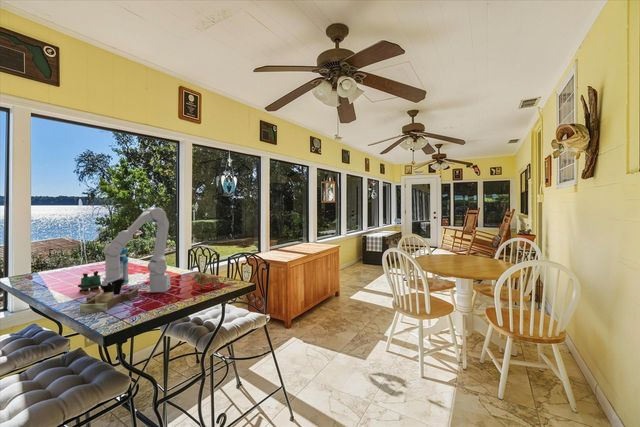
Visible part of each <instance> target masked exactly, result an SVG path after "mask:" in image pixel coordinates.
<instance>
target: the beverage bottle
mask: <svg viewBox="0 0 640 427" xmlns="http://www.w3.org/2000/svg"><path fill="white" fill-rule="evenodd" d="M127 251H128V249H127V248H125V247H124V248H122V252H121V253H120V274H123V278H121V279H125V281H124V282H123V285H127V284H128V283H129V267H130V266H129V265H130V264H129V258H128V256H127V254H128V252H127ZM111 284H112V283H111Z"/></svg>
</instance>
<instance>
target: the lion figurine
mask: <svg viewBox="0 0 640 427" xmlns="http://www.w3.org/2000/svg"><path fill="white" fill-rule="evenodd" d="M193 280H194V282H195V283H197V284H198V285H201V286H200V289H201V288H202V289H203V290H205V284H206V285H207V284H212V283H213V286H212V288H213V287H214V288H216V289H217V288H219V289H220V287H223V285H222V284H221V283H220V279H219V278H218V276H216V275H215V276H214V275H213V276H206V275H205V274H202V273H199V272H196V273H195V274H193ZM216 286H217V287H216Z"/></svg>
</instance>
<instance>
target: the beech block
mask: <svg viewBox="0 0 640 427" xmlns="http://www.w3.org/2000/svg"><path fill="white" fill-rule="evenodd" d="M101 292H102V293H100V294H98V295H96V296H95V304H105V303H106V302H108V301H110V300H111V299H113V298H114V294H113V292H104V291H101Z"/></svg>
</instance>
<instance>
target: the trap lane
mask: <svg viewBox="0 0 640 427" xmlns="http://www.w3.org/2000/svg"><path fill="white" fill-rule="evenodd" d="M127 291H128V292H127V293H120V294H117V295H116V296H115V297H113V299H111V300H110V301H108V302H106V303H105V304H95V296H96V295H98V294H100V293H102V292H103V291H98V292H96V293H94V294H92V295H89V296H88V297H86V298H85V299H86V301H85V302H83V303H81V304H79V312H80V313H87V312H88V313H89V312H91V313H92V312H93V313H94V312H95V313H96V312H106V311H108V310H110V309H112V308H113V307H115V306H116V305H118V304H120V303H121V302H123V301H131V300H132V299H133V298H135V297H137V296H138V295H139V288H135V286H132V287H130V288H128V290H127ZM113 295H115V294H114V289H113Z"/></svg>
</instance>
